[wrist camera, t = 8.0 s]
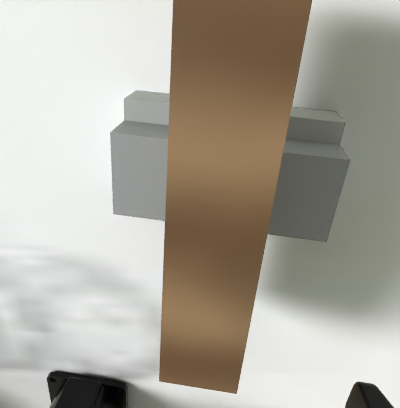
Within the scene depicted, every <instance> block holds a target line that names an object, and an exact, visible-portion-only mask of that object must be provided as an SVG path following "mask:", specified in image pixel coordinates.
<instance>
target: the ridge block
mask: <svg viewBox="0 0 400 408" xmlns="http://www.w3.org/2000/svg"><path fill="white" fill-rule="evenodd" d="M169 104H170V94H164V93H155V92H145V91H135V92H133V93H132V94H130V95H129V96H127V97H126V98H125V99H124V121H123V122H122V123H121V124H120V125H118V126H117V127H116V128H115V129H114V130H113V131H112V132H110V136H111V162H112V188H113V214H117V215H124V216H132V217H140V218H148V219H155V220H163V221H165V212H166V185H167V158H168V131H169ZM344 126H345V121H344V120H343V119H342V118H341V117H340V116H339V114H338V113H337V112H335V111H326V110H316V109H307V108H297V107H292V108H291V113H290V119H289V124H288V129H287V134H286V139H285V145H284V150H283V155H282V160H281V165H280V171H279V176H278V181H277V186H276V191H275V197H274V202H273V207H272V212H271V217H270V223H269V228H268V233H267V234H270V235H278V236H286V237H294V238H301V239H309V240H317V241H324V242H327V238H328V235H329V231H330V228H331V224H332V221H333V217H334V214H335V210H336V207H337V203H338V200H339V196H340V193H341V189H342V186H343V182H344V179H345V175H346V172H347V168H348V165H349V162H350V159H349V158H348V156H347V155H346V153H345V152H344V150H343V149H342V147H341V146H340V141H341V137H342V133H343V130H344Z"/></svg>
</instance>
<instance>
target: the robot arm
mask: <svg viewBox="0 0 400 408" xmlns="http://www.w3.org/2000/svg"><path fill="white" fill-rule="evenodd" d="M47 382H48V387H49V393H50V399H51V406H50V408H128V388H127V385H126V384H124V383H121V382H115V381H109V380H103V379H97V378H91V377H85V376H78V375H72V374H66V373H60V372H50V373H49V375H48V377H47ZM345 408H394V407H393V406H392V405H391V403H390V402H389V401H388V400H387V399H386V397H385V396H384V395H383V394H382V392H381V391H380V390H379V389H378V387H376V386H375V385H374V384H371V383H364V382H356V383H355V384H354V386H353V388H352V390H351V393H350V395H349V397H348V400H347V402H346V406H345Z"/></svg>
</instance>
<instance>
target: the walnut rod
mask: <svg viewBox="0 0 400 408" xmlns="http://www.w3.org/2000/svg"><path fill="white" fill-rule="evenodd" d="M311 4H312V0H173V23H172V50H171V77H170V104H169V131H168V158H167V185H166V212H165V239H164V266H163V293H162V320H161V347H160V374H159V381H161V382H167V383H173V384H179V385H185V386H191V387H198V388H204V389H210V390H216V391H222V392H229V393H235V394H237V389H238V384H239V379H240V374H241V368H242V363H243V358H244V353H245V348H246V342H247V337H248V332H249V327H250V322H251V316H252V311H253V306H254V301H255V295H256V290H257V285H258V280H259V275H260V269H261V264H262V259H263V254H264V249H265V243H266V238H267V233H268V228H269V223H270V217H271V212H272V207H273V202H274V197H275V191H276V186H277V181H278V176H279V171H280V165H281V160H282V155H283V150H284V145H285V139H286V134H287V129H288V124H289V119H290V113H291V108H292V103H293V98H294V93H295V87H296V82H297V77H298V72H299V67H300V61H301V56H302V51H303V46H304V41H305V35H306V30H307V25H308V20H309V15H310V9H311Z"/></svg>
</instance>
